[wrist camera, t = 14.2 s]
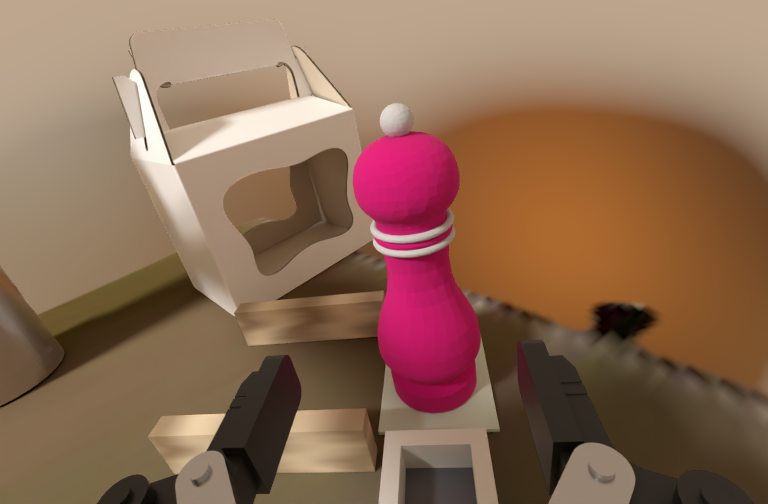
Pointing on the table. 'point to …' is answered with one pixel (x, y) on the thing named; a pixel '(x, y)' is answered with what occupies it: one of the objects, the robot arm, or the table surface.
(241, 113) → the gable box
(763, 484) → the table surface
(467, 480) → the box
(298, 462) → the oak channel
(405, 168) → the pepper mill
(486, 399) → the sage pad
